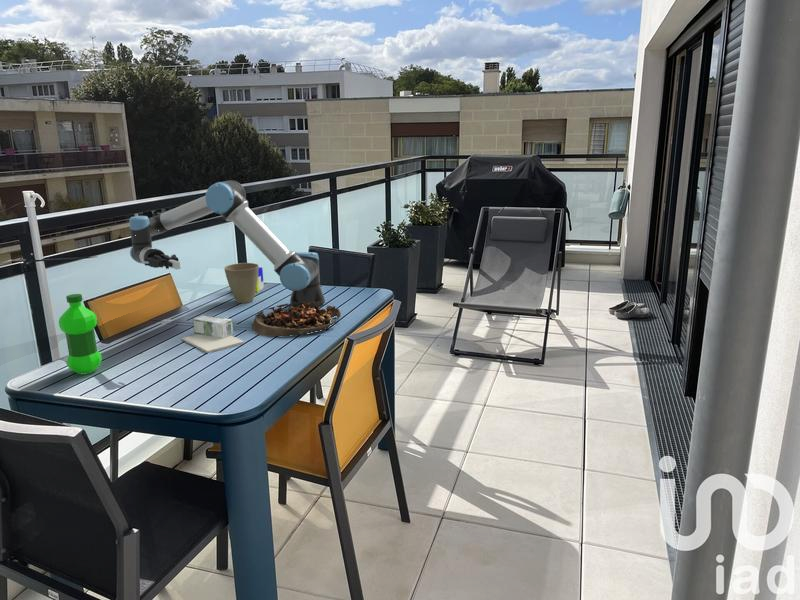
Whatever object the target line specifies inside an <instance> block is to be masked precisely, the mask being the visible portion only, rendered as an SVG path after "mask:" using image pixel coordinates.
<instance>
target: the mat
mask: <svg viewBox="0 0 800 600" xmlns="http://www.w3.org/2000/svg"><path fill="white" fill-rule="evenodd" d="M181 339H182V341H183V342H185V343H187V344H189V345H191V346H192V347H195V348H197V349H199V350H201V351H202V352H204V353H207V354H211V353H215V352H218V351H221V350H225V349H228V348H232V347H236V346H237V347H238V346H240V345H244V344H245V341H244V340H242V339H240V338H238V337H236V336H233V335H232V334H231V335H229V336H227V337H224V338H219V337H213V336H208V335H202V334H196V333H195V334H193V335H189V336H185V337H182V338H181Z"/></svg>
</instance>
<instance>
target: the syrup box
mask: <svg viewBox="0 0 800 600" xmlns="http://www.w3.org/2000/svg"><path fill="white" fill-rule="evenodd" d="M192 325H193V326H192V327H193V332H194V334H195V335H196V334H202V335H208V336H213V337H219V338H224V337H227V336H229V335H231V336H232V335H233V334H234V329H233V319H231V318H224V317H219V316H212V315H207V314H206V315H205V314H202V315H201V316H200V315H199V316H197V317H194V318H193V319H192Z"/></svg>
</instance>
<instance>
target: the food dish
mask: <svg viewBox="0 0 800 600" xmlns="http://www.w3.org/2000/svg"><path fill="white" fill-rule="evenodd" d="M288 305H289V303H285V304H284V303H283V304H280V305H276V306H275V307H274V306H272V307H269V308H268V307H267V308H266V309H265V311H267V310H272V312H268V313H267V315H265V314H264V310H261V311H259V312H257V314H255V316H254V319H253V322H252V324H251V327H252V329H251V330H252V331H253V332H254V333H255V334H257V335H259V336H265V337H266V336H267V337H276V336H290V335H300V334H305V335H308V334H307V333H311V332H315V331H320V330H324V329H325V328H328V329H329V328H330V327H331V326H330V325H332V324H333V325H334V324H337V321H338V320H339V319H340V318H341V313H342V312H341V311H340V309H338V308H336V307H335V306H332V305H327V306H326V308H325V309H324V308H322V309H320V307H321V306H320V305H322V303H318V304H316V305H314V306H315V307H314V308H312V306H311V305H310V302H301V303H300V304H299V305H297V306H296V307H291V306H290V308H289V309H288V310H286V309H285V310H284V308H283V307H285V306H288ZM304 305H305V307H304ZM301 306H302V307H301ZM319 306H320V307H319ZM322 306H323V305H322ZM334 316H337V319H336V320H331V318H332V317H334ZM330 320H331V321H332V323H330ZM329 326H330V327H329ZM325 330H326V329H325ZM325 330H324V331H325ZM300 336H301V335H300ZM290 337H291V336H290Z"/></svg>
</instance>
